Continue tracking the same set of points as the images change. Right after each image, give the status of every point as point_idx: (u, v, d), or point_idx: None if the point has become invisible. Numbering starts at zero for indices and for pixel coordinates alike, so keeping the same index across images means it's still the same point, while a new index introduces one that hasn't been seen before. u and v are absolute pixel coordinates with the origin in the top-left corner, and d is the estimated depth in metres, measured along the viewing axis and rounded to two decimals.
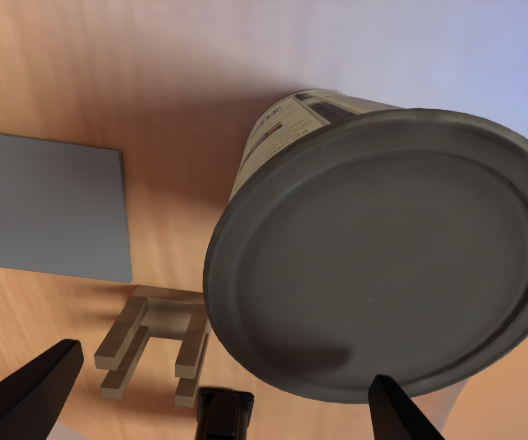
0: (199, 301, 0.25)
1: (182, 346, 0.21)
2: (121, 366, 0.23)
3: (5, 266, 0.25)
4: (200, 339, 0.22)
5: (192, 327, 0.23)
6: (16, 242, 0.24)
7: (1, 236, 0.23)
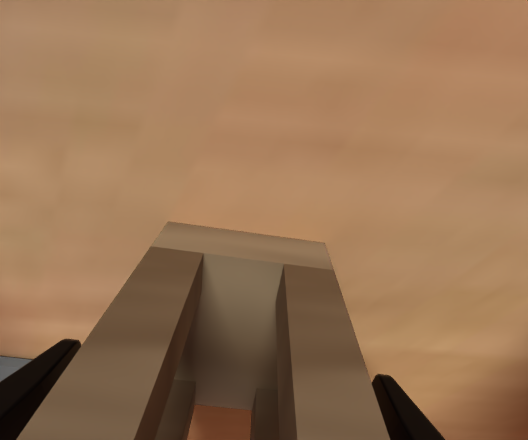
0: None
1: None
2: None
3: None
4: (58, 384, 0.04)
5: None
6: None
7: None
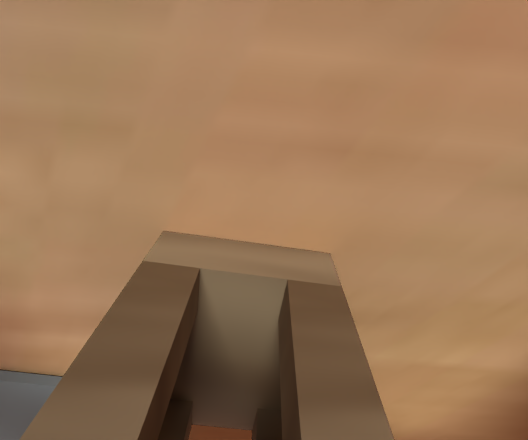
0: None
1: None
2: None
3: None
4: (27, 434, 0.04)
5: None
6: None
7: None
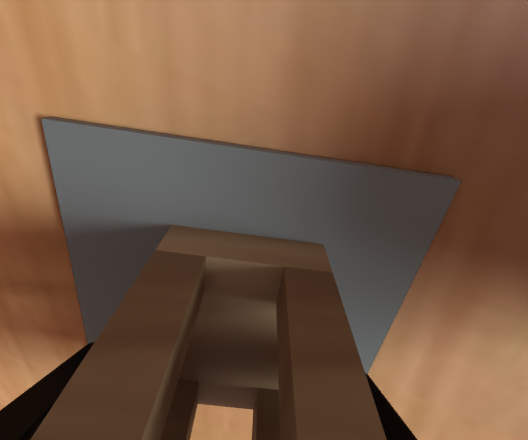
0: None
1: None
2: None
3: None
4: (70, 383, 0.04)
5: None
6: None
7: None
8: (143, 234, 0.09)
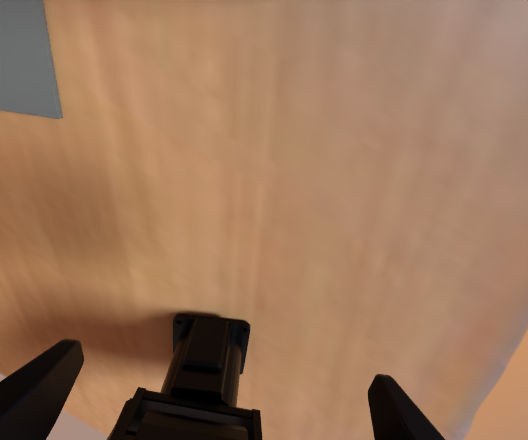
0: None
1: None
2: None
3: None
4: None
5: None
6: None
7: None
8: None
